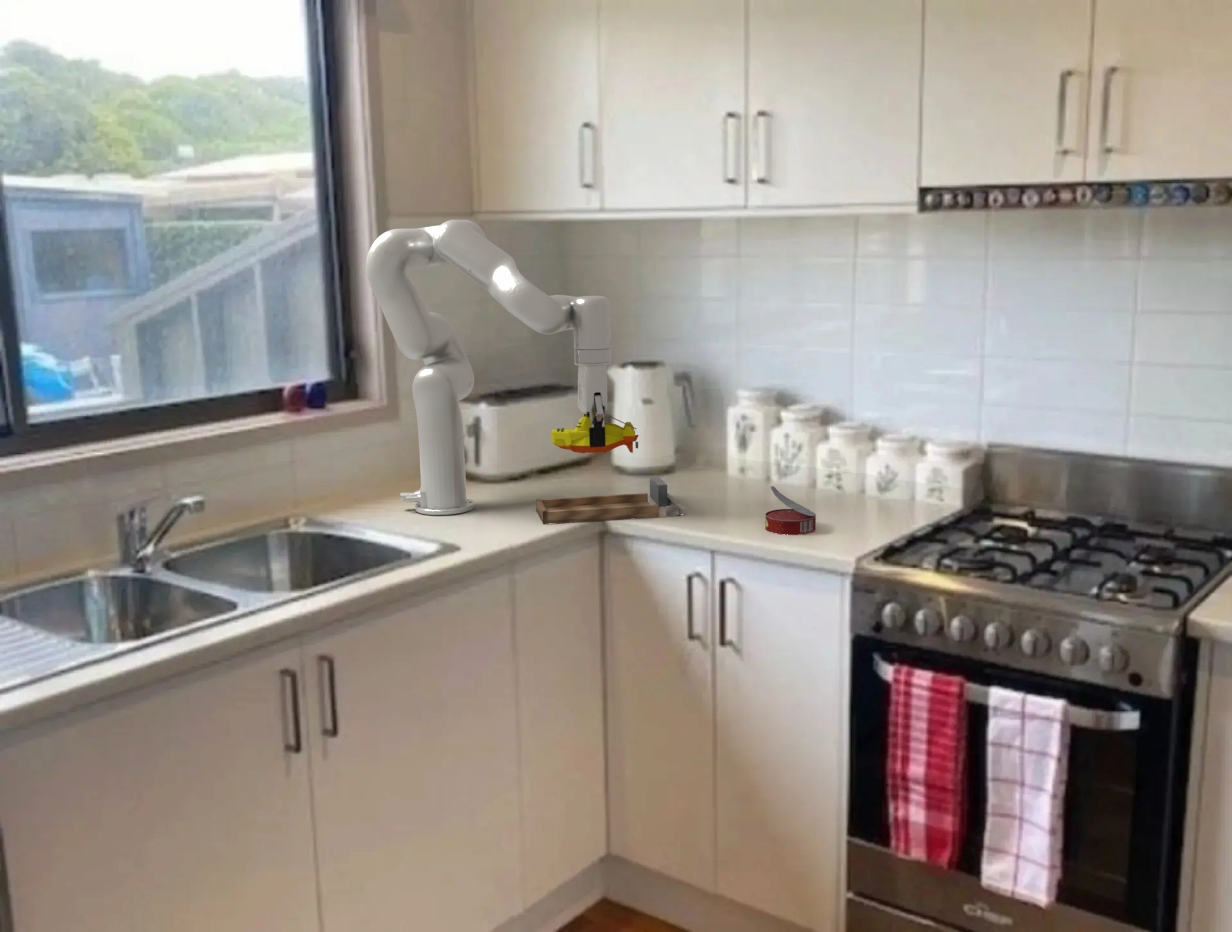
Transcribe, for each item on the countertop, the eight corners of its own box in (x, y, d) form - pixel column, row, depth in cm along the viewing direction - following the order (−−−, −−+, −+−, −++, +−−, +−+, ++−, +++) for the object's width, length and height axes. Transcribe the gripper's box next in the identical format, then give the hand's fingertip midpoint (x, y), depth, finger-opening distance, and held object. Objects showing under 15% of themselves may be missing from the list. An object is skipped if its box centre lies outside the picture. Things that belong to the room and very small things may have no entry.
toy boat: (638, 455, 247) (638, 407, 245) (550, 457, 247) (549, 408, 245) (638, 449, 253) (637, 402, 251) (552, 451, 253) (551, 404, 252)
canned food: (780, 545, 243) (790, 498, 245) (822, 548, 236) (832, 499, 238) (747, 529, 236) (758, 480, 238) (789, 531, 228) (799, 481, 231)
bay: (543, 524, 245) (542, 512, 244) (531, 502, 265) (531, 491, 264) (684, 515, 250) (684, 503, 249) (663, 494, 270) (663, 483, 269)
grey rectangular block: (658, 505, 258) (658, 485, 257) (649, 496, 267) (649, 476, 266) (667, 505, 259) (667, 484, 258) (658, 496, 267) (658, 476, 267)
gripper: (568, 353, 254) (570, 437, 257) (580, 362, 237) (583, 452, 241) (603, 352, 255) (605, 436, 259) (618, 360, 239) (620, 450, 242)
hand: (594, 443), depth 250 cm, fingers closed on toy boat, 6 cm apart
